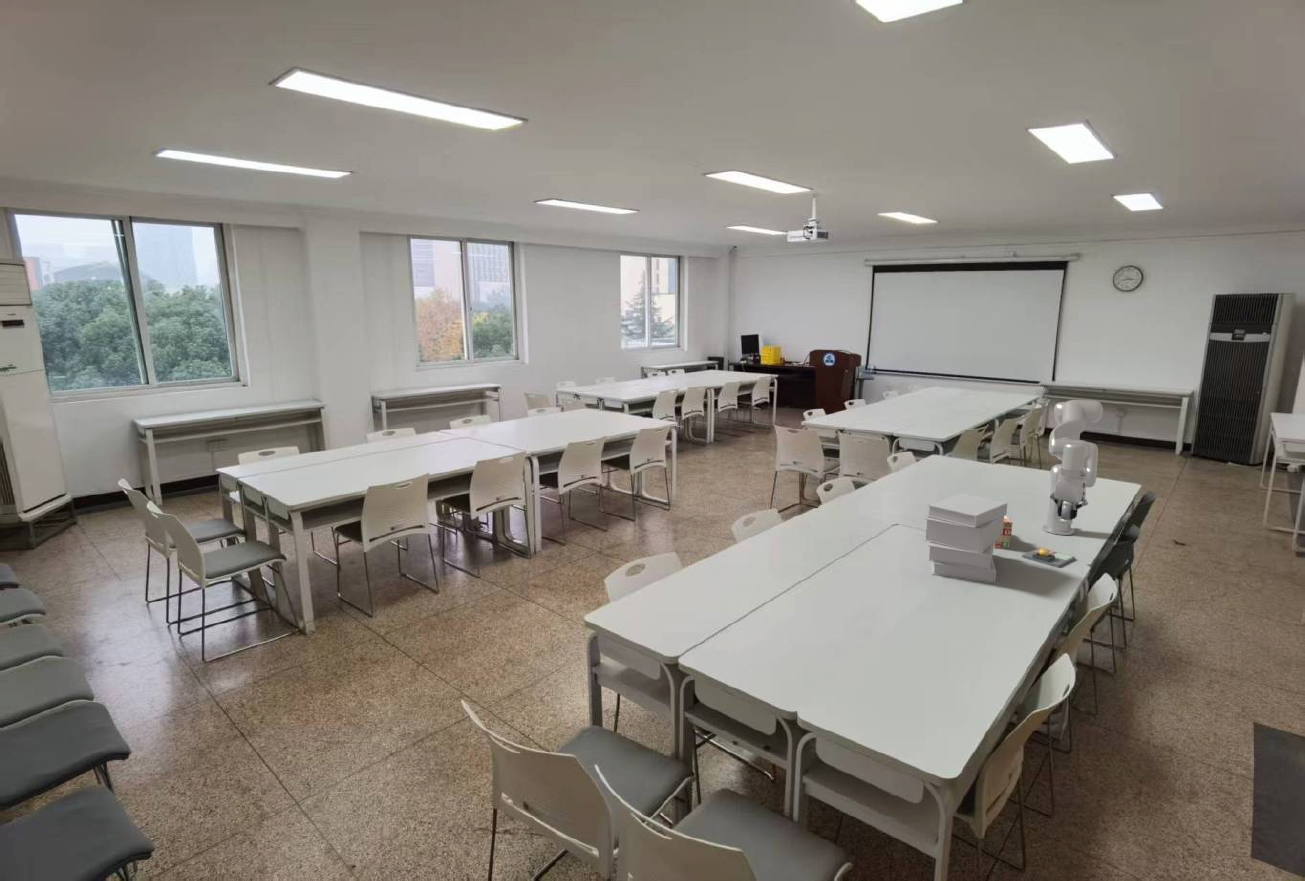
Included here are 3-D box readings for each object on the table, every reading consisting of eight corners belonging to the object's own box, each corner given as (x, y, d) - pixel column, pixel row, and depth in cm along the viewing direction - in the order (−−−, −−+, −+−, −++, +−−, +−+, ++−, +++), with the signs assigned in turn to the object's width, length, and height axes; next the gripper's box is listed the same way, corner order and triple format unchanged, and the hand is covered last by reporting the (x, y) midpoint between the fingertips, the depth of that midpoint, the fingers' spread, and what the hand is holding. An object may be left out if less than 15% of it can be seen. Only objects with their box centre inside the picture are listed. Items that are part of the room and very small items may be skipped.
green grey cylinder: (1062, 520, 269) (1065, 499, 267) (1073, 522, 266) (1076, 501, 264) (1058, 521, 267) (1060, 500, 265) (1069, 524, 264) (1071, 502, 262)
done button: (1041, 552, 270) (1041, 548, 269) (1050, 555, 267) (1051, 550, 266) (1037, 554, 268) (1037, 550, 267) (1046, 557, 265) (1047, 552, 264)
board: (1039, 549, 280) (1039, 544, 280) (1075, 559, 269) (1075, 553, 268) (1022, 557, 272) (1022, 551, 271) (1058, 567, 260) (1059, 561, 260)
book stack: (998, 554, 275) (1004, 495, 270) (1008, 586, 244) (1014, 520, 239) (921, 545, 287) (925, 488, 282) (921, 574, 255) (925, 511, 250)
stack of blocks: (979, 532, 303) (981, 506, 301) (993, 532, 302) (996, 507, 300) (994, 548, 282) (997, 521, 280) (1010, 549, 281) (1012, 521, 279)
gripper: (1099, 476, 258) (1093, 520, 261) (1053, 468, 271) (1049, 510, 275) (1091, 479, 254) (1085, 524, 257) (1045, 471, 267) (1040, 514, 270)
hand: (1066, 516), depth 266 cm, fingers closed on green grey cylinder, 3 cm apart
